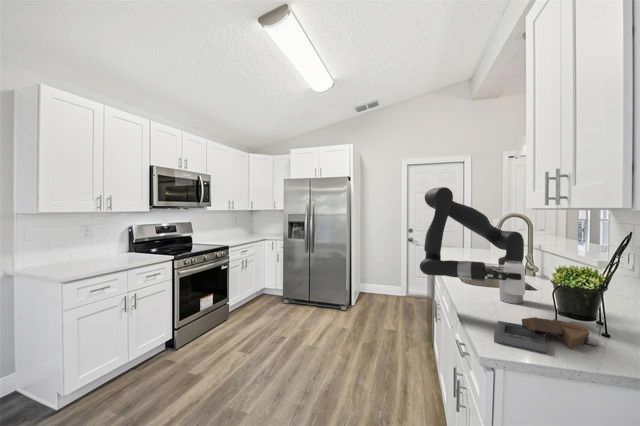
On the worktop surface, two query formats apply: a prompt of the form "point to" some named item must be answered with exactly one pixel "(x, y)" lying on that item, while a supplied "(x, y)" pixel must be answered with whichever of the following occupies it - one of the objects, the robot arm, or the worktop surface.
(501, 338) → the gray square frame plate
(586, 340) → the wooden blocks
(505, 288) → the can
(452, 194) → the robot arm
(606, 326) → the worktop surface
